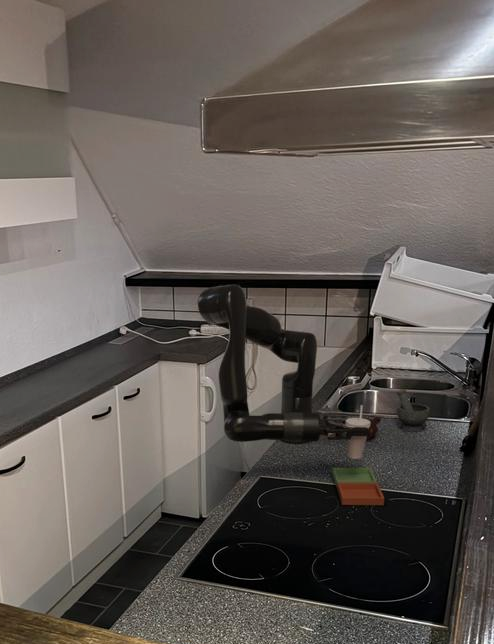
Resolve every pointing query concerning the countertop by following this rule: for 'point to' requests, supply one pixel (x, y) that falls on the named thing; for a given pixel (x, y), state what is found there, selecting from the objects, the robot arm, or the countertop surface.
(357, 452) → the smoothie
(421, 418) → the mortar and pestle
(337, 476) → the green tray
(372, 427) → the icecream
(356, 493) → the terracotta tray
